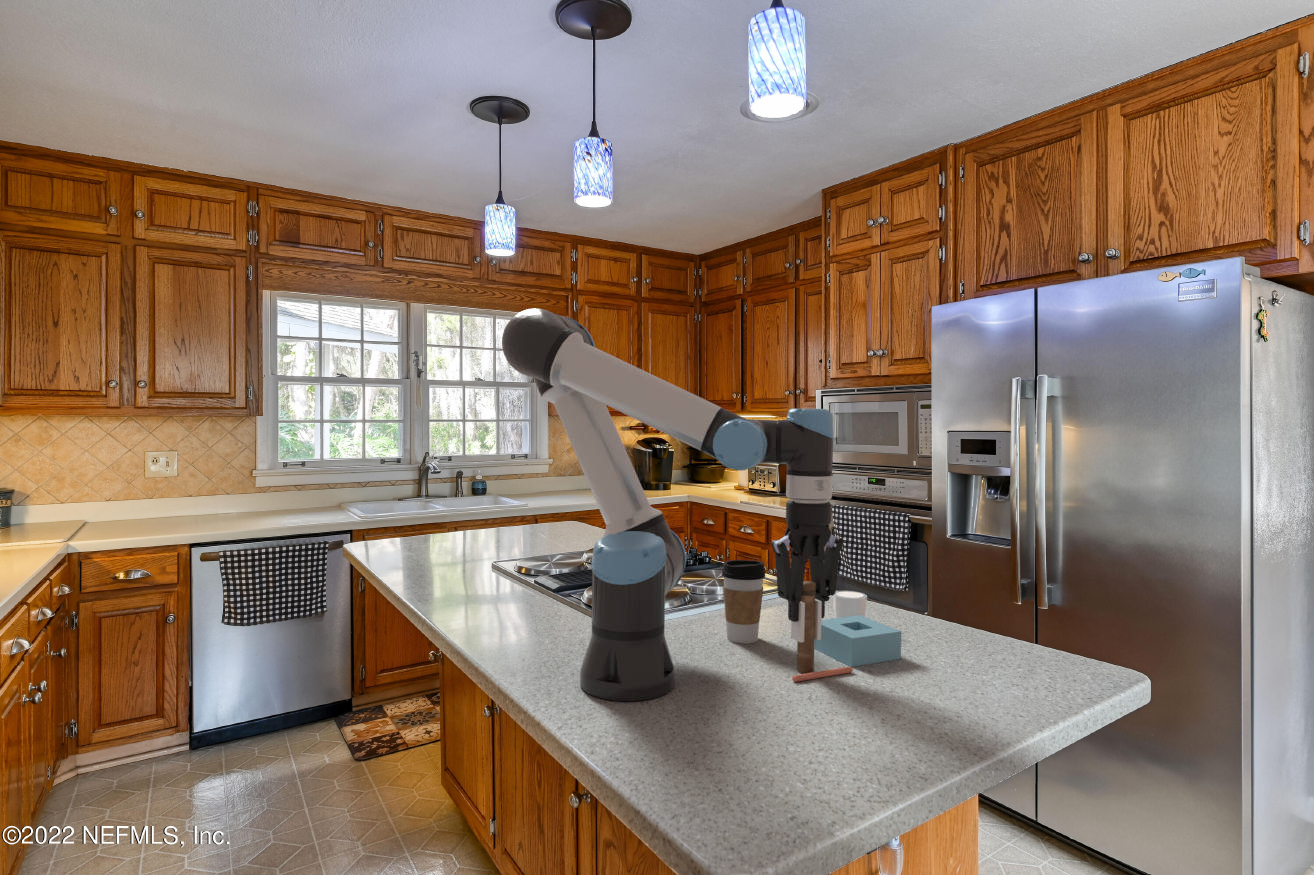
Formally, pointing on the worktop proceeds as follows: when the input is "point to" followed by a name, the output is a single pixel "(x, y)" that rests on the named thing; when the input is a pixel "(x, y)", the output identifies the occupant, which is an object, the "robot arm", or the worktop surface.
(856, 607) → the white cylinder
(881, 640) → the blue square hole block
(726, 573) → the coffee cup
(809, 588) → the round wooden peg
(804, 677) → the salmon red rod
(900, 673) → the worktop surface
